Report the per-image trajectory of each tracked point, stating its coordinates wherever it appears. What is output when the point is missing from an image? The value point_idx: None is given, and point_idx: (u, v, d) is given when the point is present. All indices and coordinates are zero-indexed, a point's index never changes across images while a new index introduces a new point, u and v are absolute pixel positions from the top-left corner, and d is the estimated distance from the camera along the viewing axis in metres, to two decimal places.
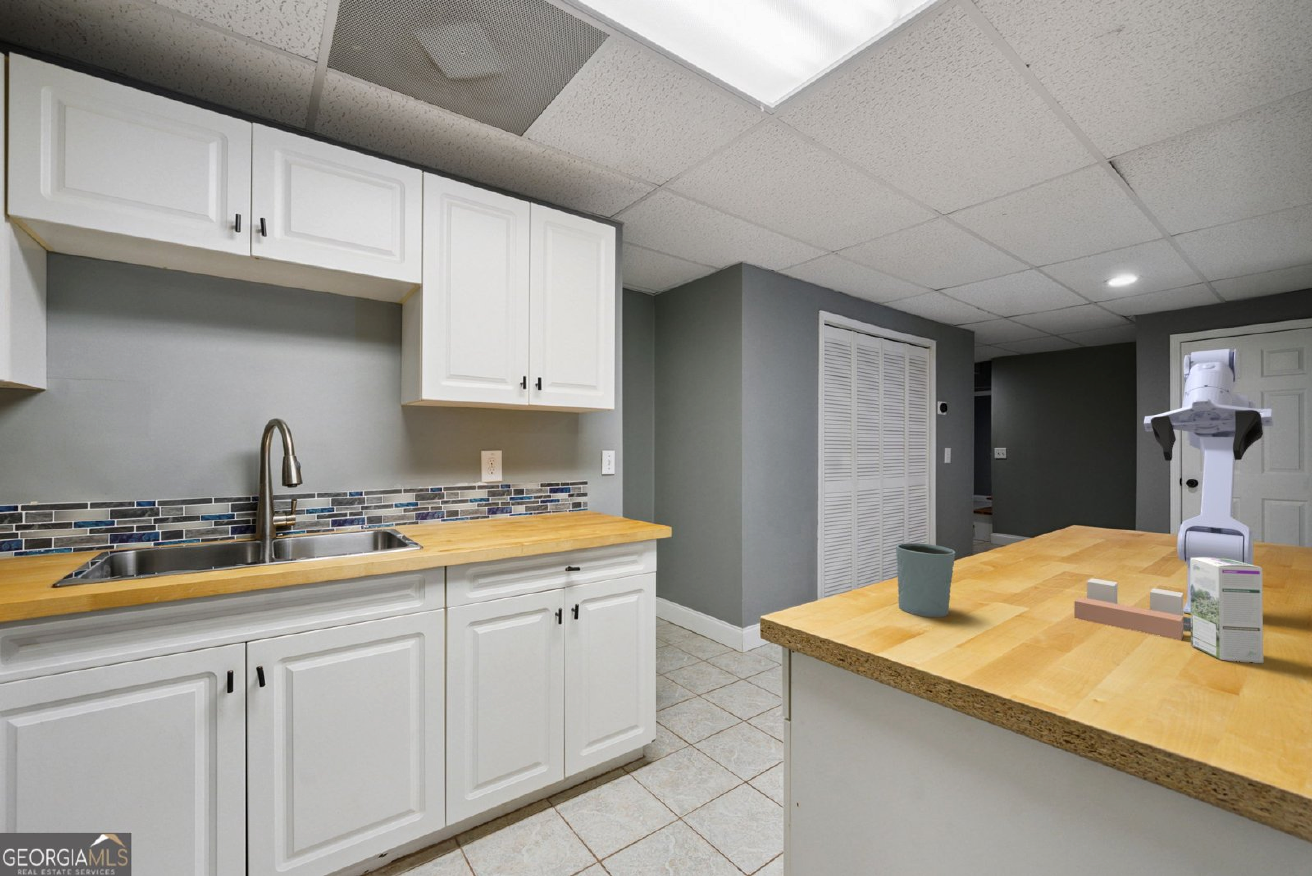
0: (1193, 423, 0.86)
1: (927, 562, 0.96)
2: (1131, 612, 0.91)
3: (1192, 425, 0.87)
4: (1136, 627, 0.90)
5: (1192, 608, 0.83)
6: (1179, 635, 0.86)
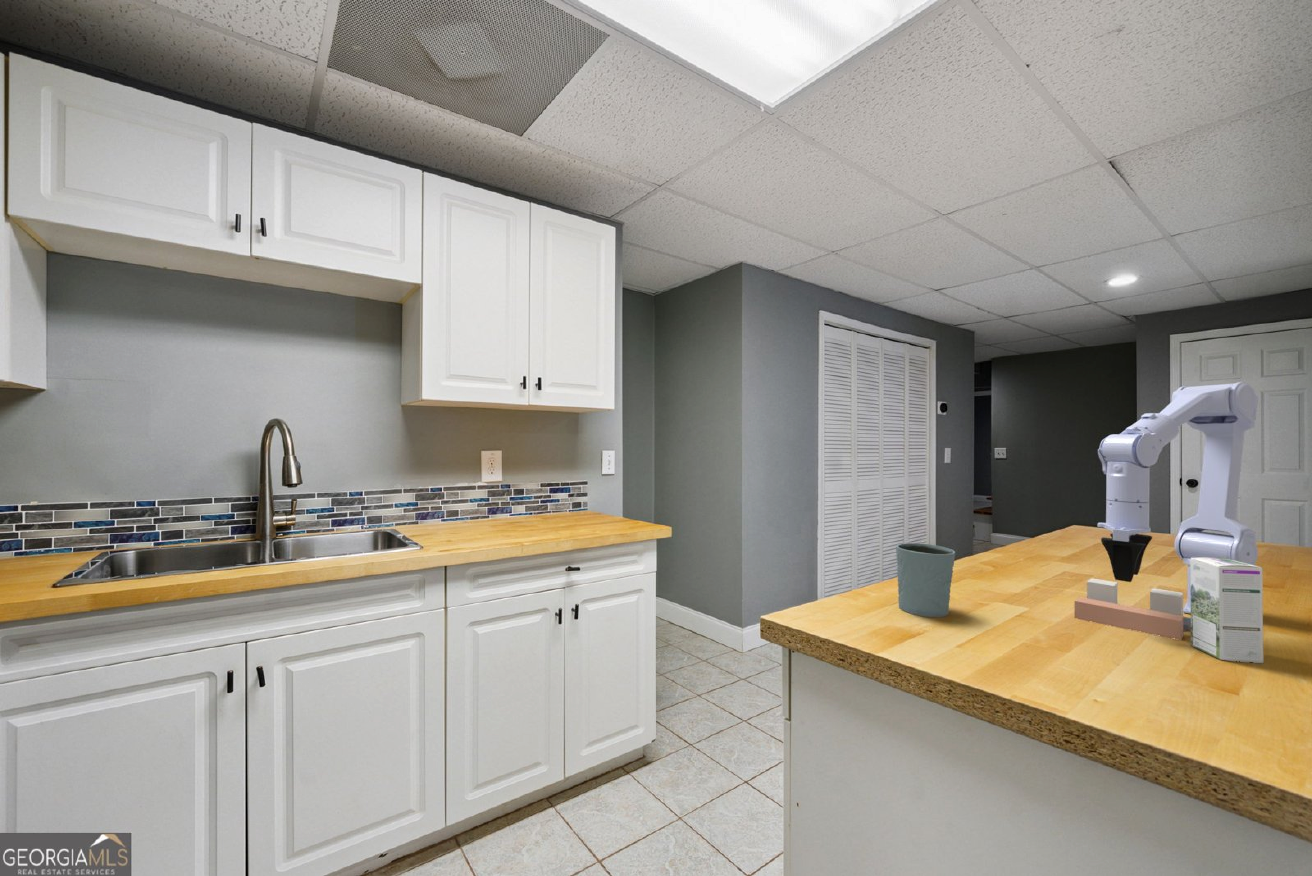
0: None
1: (927, 562, 0.96)
2: (1131, 612, 0.91)
3: None
4: (1136, 628, 0.90)
5: (1192, 607, 0.83)
6: (1179, 635, 0.86)
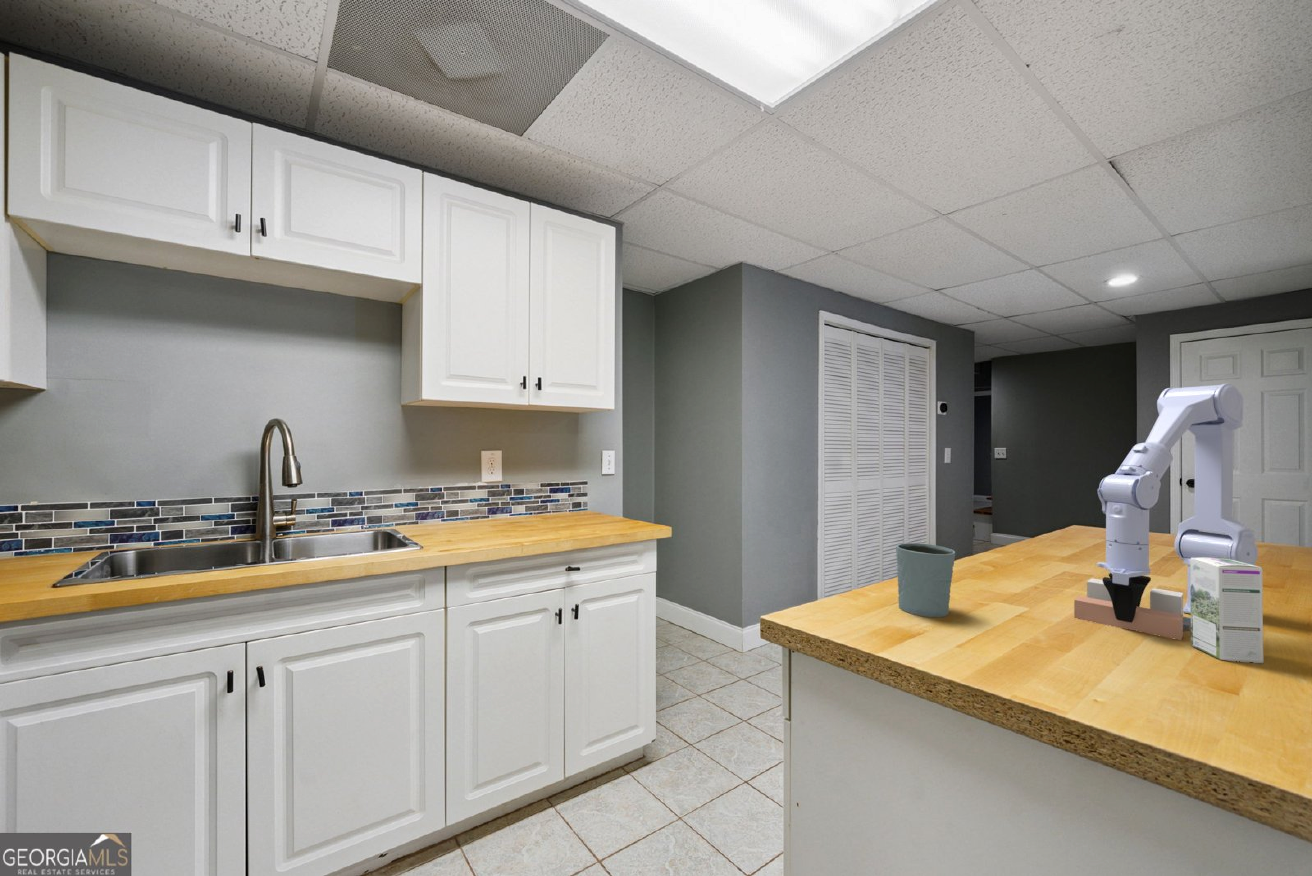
0: None
1: (927, 562, 0.96)
2: None
3: None
4: (1136, 626, 0.90)
5: (1192, 608, 0.83)
6: (1179, 634, 0.86)
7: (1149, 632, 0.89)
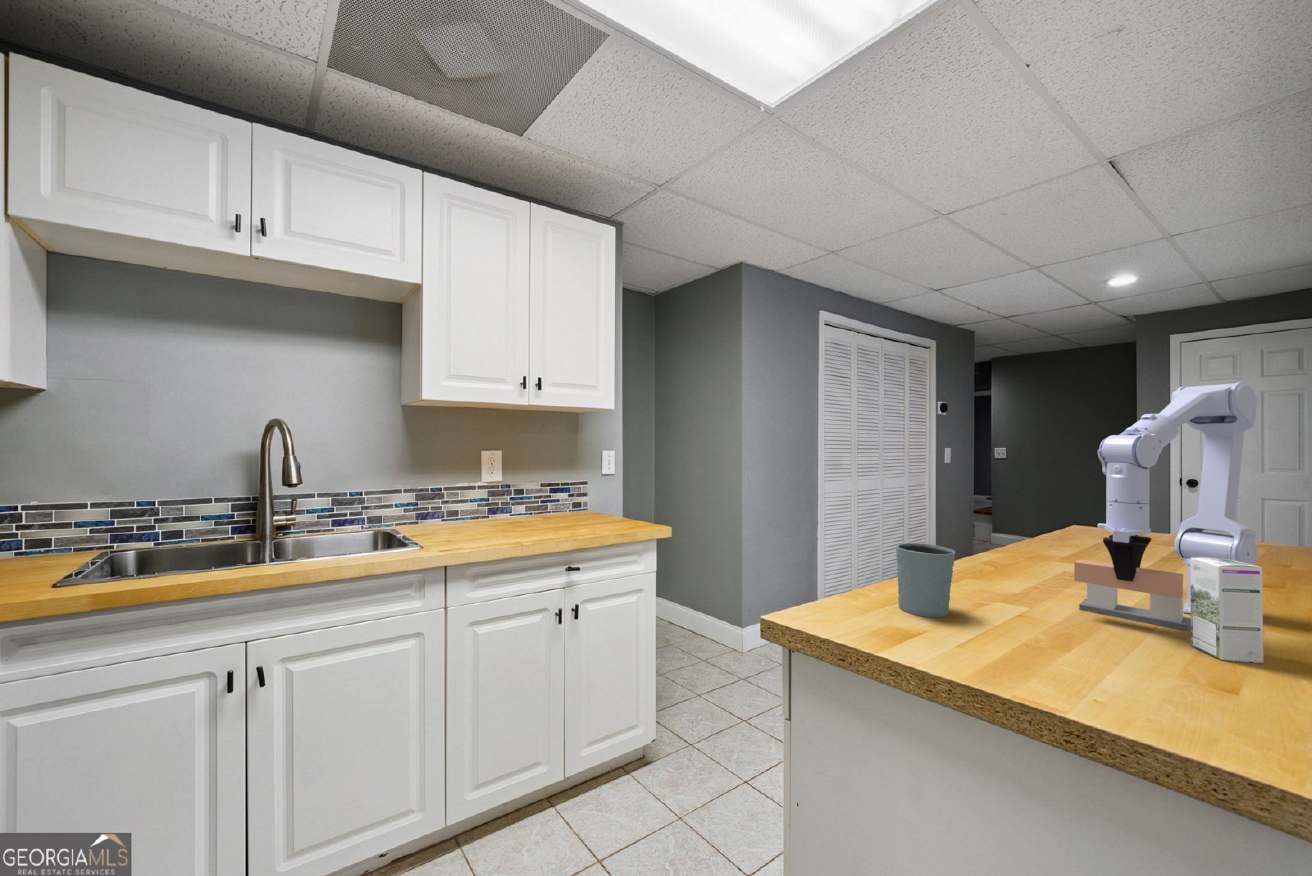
0: None
1: (927, 562, 0.96)
2: None
3: (1129, 536, 0.94)
4: (1136, 586, 0.91)
5: (1192, 607, 0.83)
6: (1179, 591, 0.87)
7: (1149, 591, 0.89)
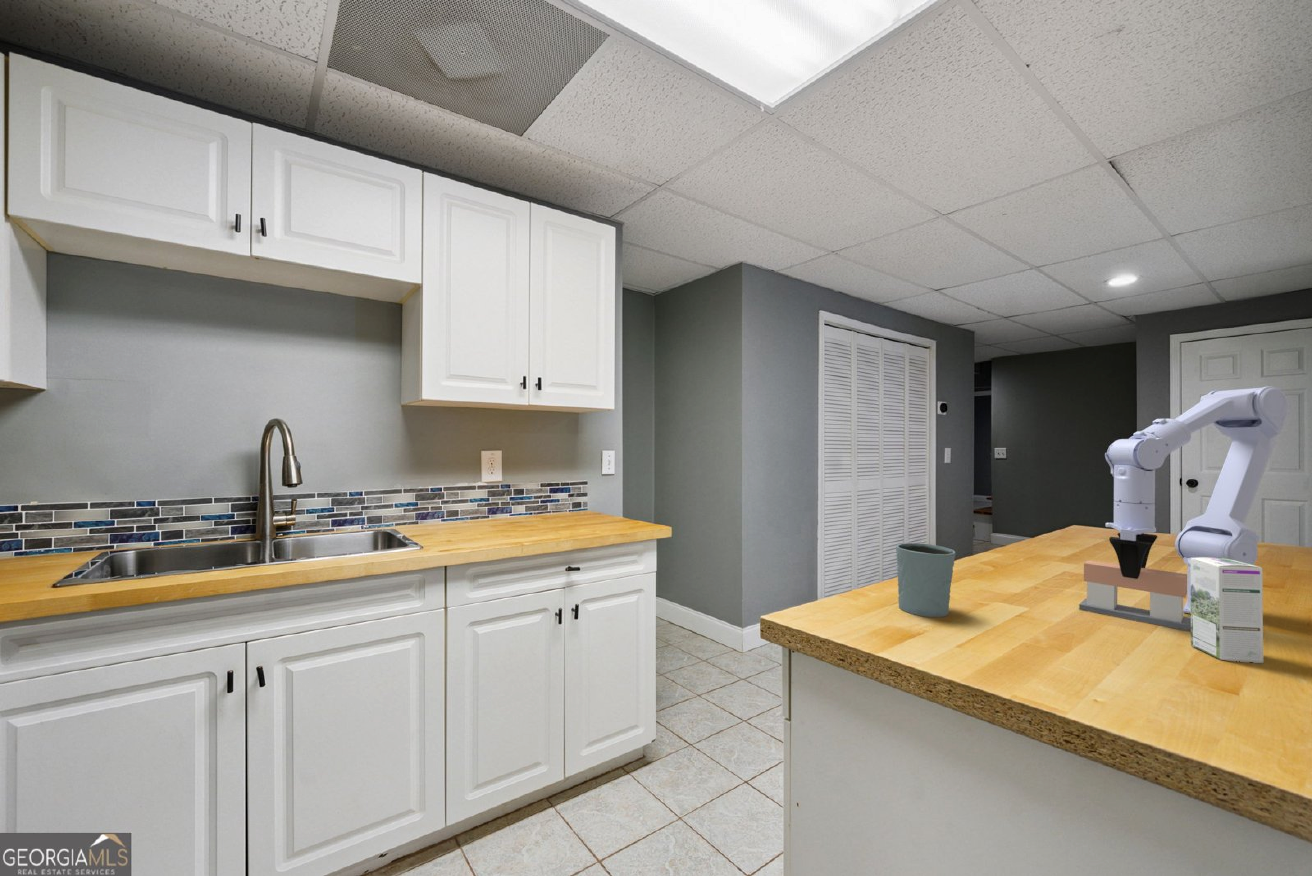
0: None
1: (927, 562, 0.96)
2: None
3: None
4: (1142, 586, 0.96)
5: (1192, 607, 0.83)
6: (1184, 591, 0.92)
7: (1155, 591, 0.94)
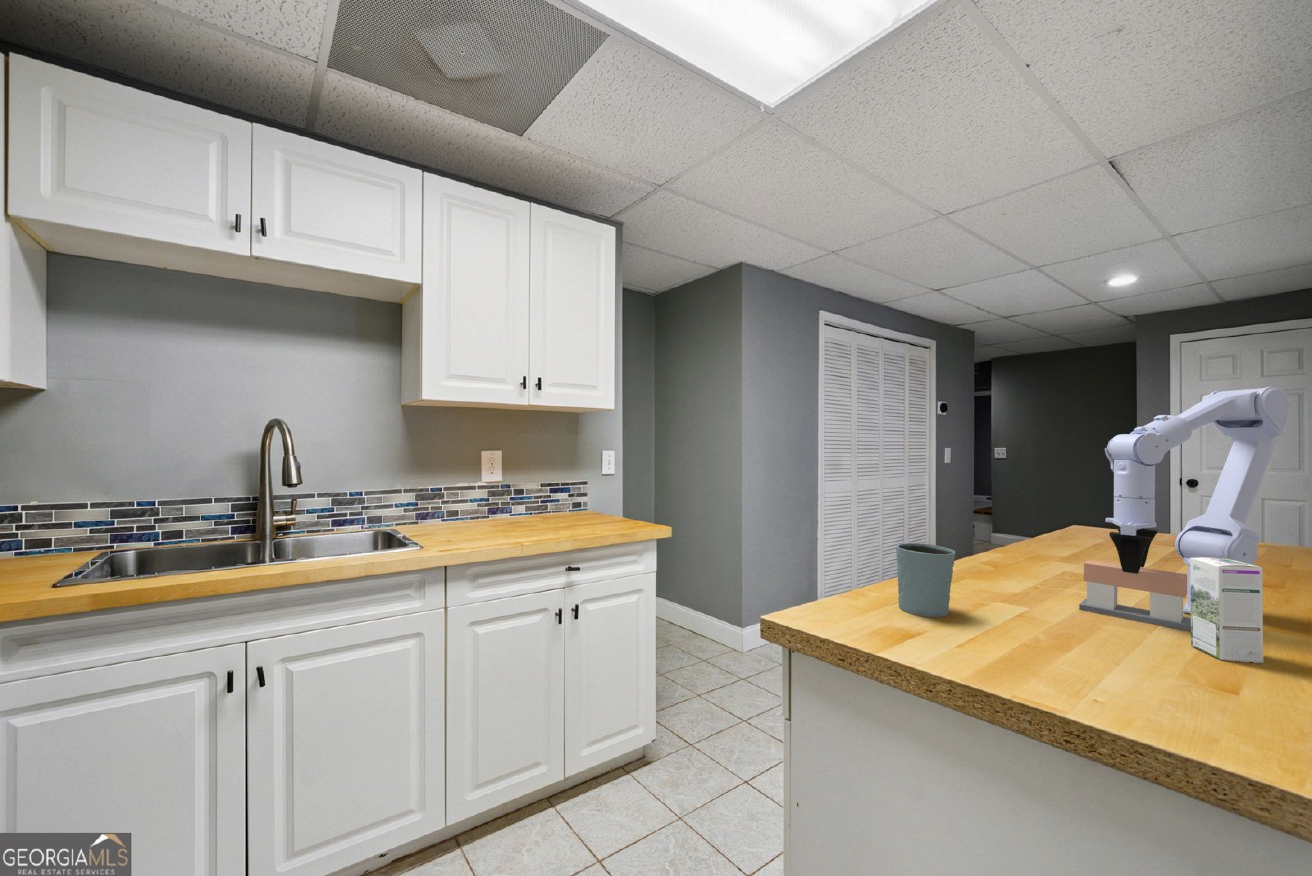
0: None
1: (927, 562, 0.96)
2: None
3: None
4: (1142, 586, 0.96)
5: (1192, 608, 0.83)
6: (1184, 591, 0.92)
7: (1155, 591, 0.94)
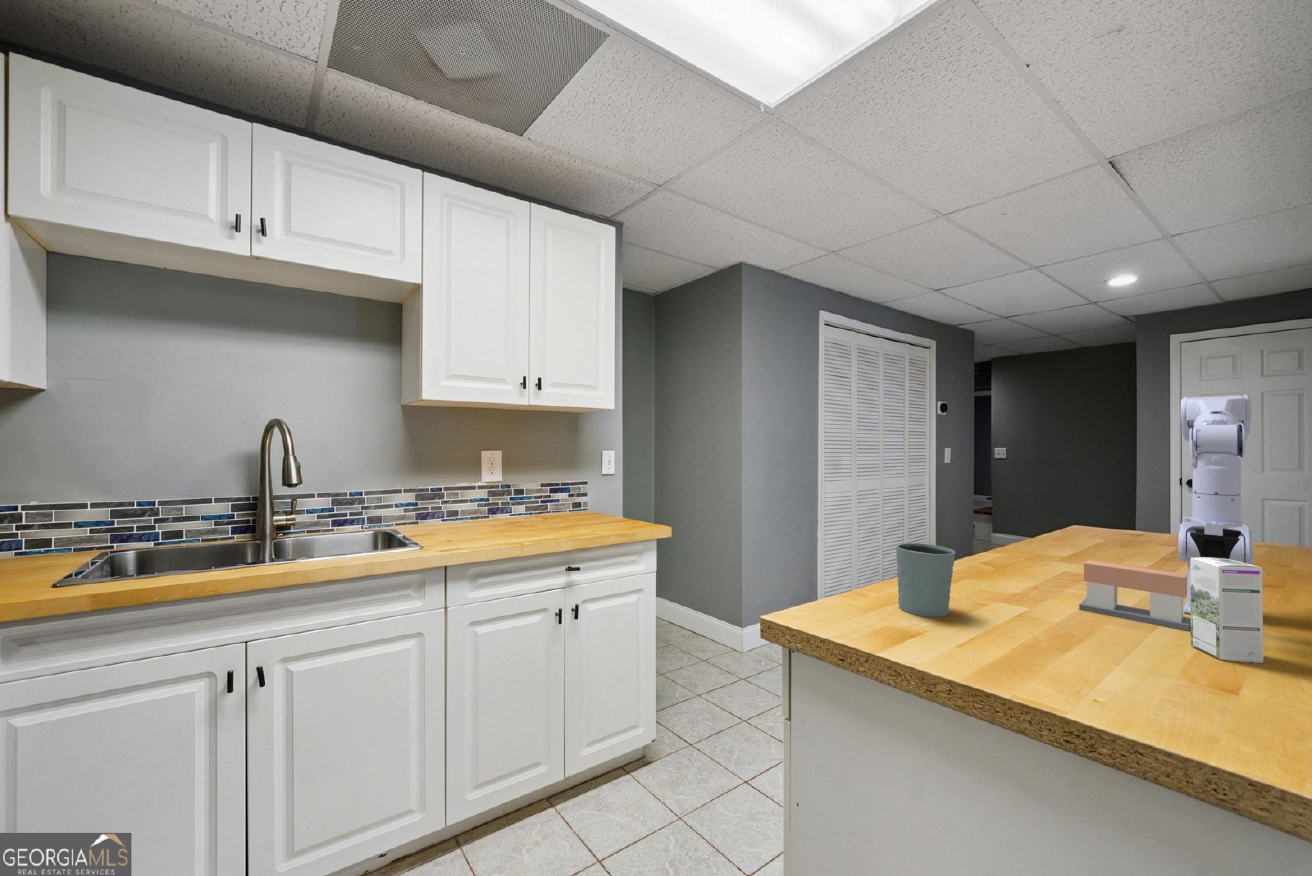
0: None
1: (927, 562, 0.96)
2: (1138, 571, 0.96)
3: None
4: (1142, 586, 0.96)
5: (1192, 607, 0.83)
6: (1184, 591, 0.92)
7: (1155, 591, 0.94)
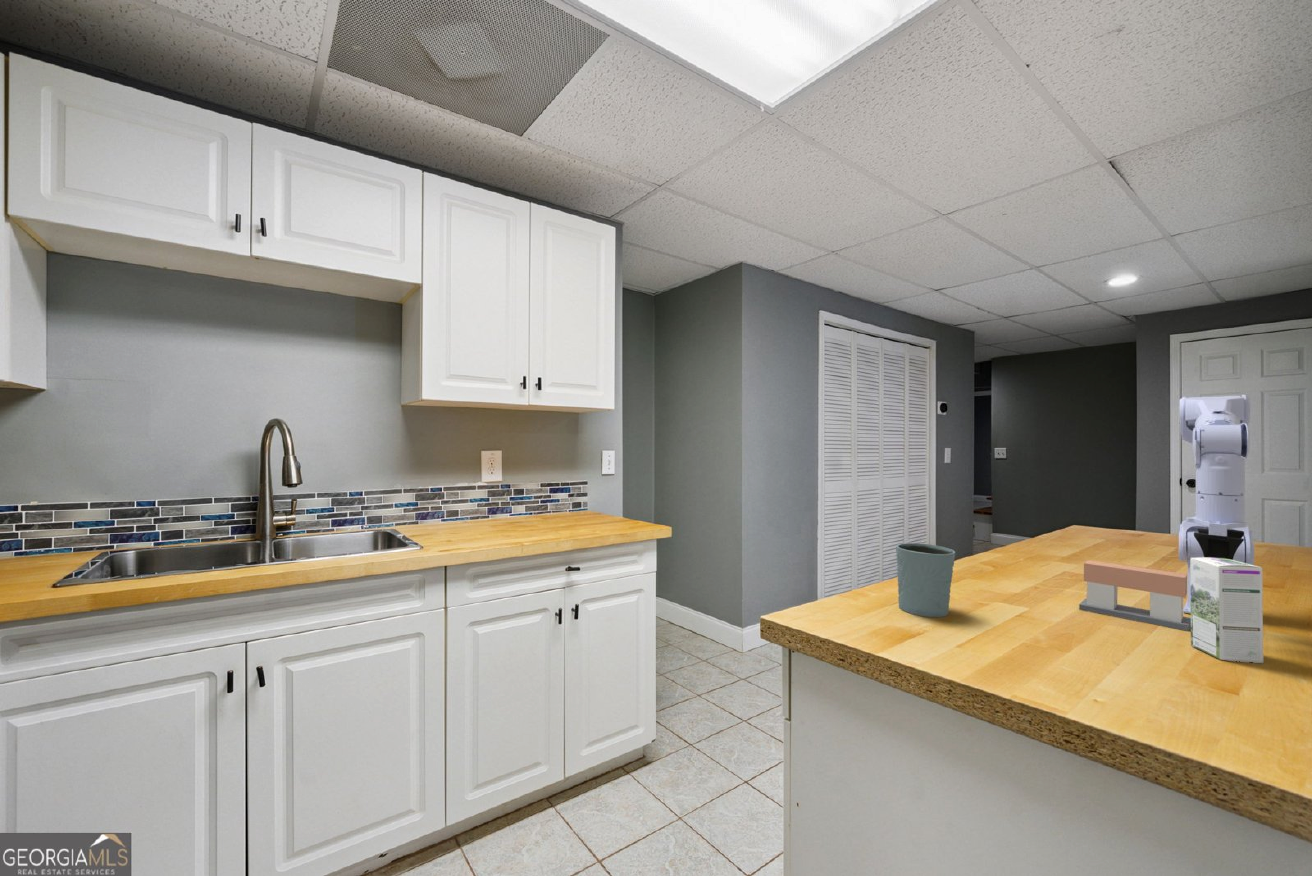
0: None
1: (927, 562, 0.96)
2: (1138, 571, 0.96)
3: None
4: (1142, 586, 0.96)
5: (1192, 608, 0.83)
6: (1184, 591, 0.92)
7: (1155, 591, 0.94)
